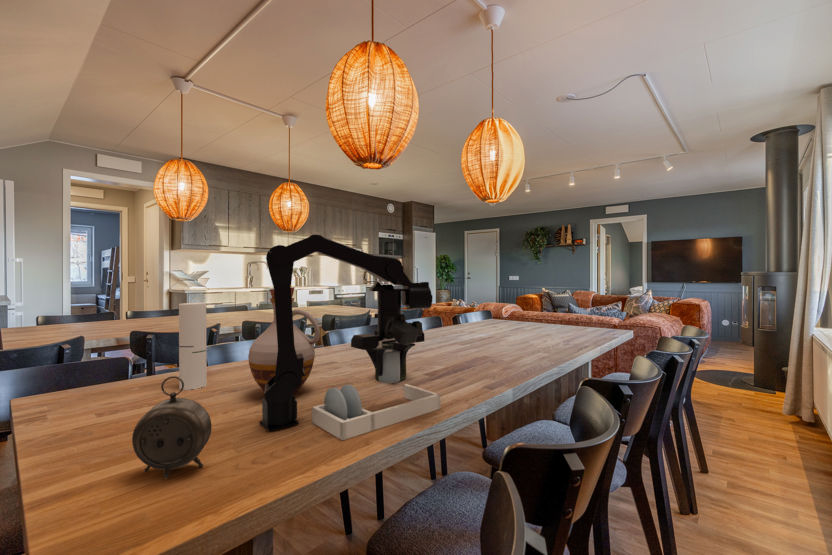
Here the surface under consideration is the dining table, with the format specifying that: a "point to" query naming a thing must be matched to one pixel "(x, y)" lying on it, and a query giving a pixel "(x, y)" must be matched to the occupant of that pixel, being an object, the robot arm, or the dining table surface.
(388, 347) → the mug
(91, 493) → the dining table surface
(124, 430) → the dining table surface
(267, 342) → the jug
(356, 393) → the dish rack
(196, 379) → the cylindrical container
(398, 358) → the grey rectangular slab
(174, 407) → the alarm clock
